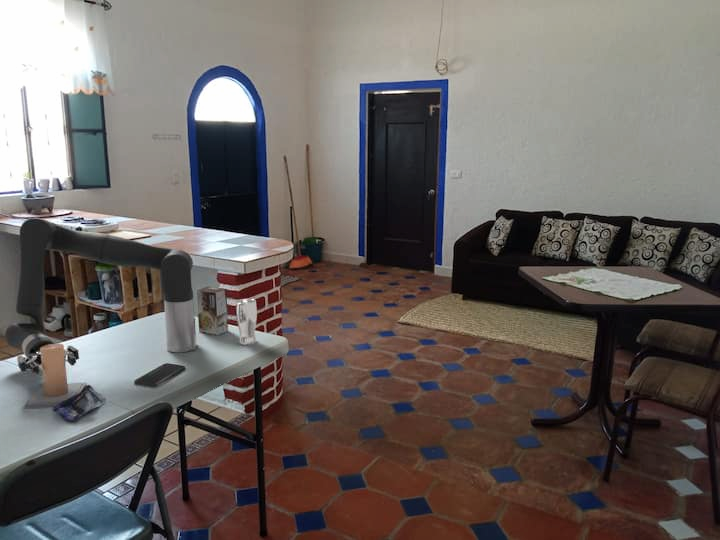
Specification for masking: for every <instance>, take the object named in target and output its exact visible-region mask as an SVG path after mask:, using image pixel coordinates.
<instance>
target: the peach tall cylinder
mask: <svg viewBox="0 0 720 540" xmlns="http://www.w3.org/2000/svg"><path fill="white" fill-rule="evenodd" d="M64 350H65V346H64V344H62V343H55V344H49V345H45V346H43V347H41V348H40V352H41V361H42V366H41V368H42V371H41V372H42V379H43V385H44V389H45V395H46V396H48V397H57V396H61V395H64V394H66V393H67V392H68V384H69V383H68V376H67V375H68V374H67V366H66V361H65V354H64Z"/></svg>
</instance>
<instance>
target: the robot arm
mask: <svg viewBox="0 0 720 540" xmlns="http://www.w3.org/2000/svg"><path fill="white" fill-rule="evenodd" d="M19 244H20V246H19V248H20V268H19V269H20V270H19V271H20V273H19V281H18V290H17V297H16V305H15V311H16V313H17V315H18V314H19V315H22V316H24V317H25V316H26V317H29V318H31V320H32V322H14V323H11V324H10V325H8V327H7V328H6V329H5V333H4V336H5V340H6V343H7V344H8V345H9V346H10V347H11V348H14V349H17V350H20V351H22V352H23V354H24V356H22V355H19V356H16V361H17V365H18V368H19V370H20V372H26V371H27V370H29V371H31V373H35V374H37V375H38V374H40V367H42V361H41V352H40V348H41V347H43V346H45V345H49V344H56V343H55V342H54V341H53V340H52V339H51V338H50V337H49V336H47V335H46V334H47V332H46V328H45V323H44V316H43V315H44V314H43V305H44V300H45V299H44V298H45V286H46V285H45V284H46V283H45V275H44V261H45V260H44V259H45V254H46V250H51V251H52V250H53V251H59V252H68V253H72V254H76V255H78V256H80V257H83V258H86V259H88V260H91V261H96V262H99V263H103V264H107V265H111V266H112V265H113V266H118V267H142V268H144V267H145V268H151V269H155V270H159V271H160V276H161V277H160V281H161V288H162V294H163V300H164V301H163V302H164V317H165V319H164V320H165V332H166V333H165V334H166V347H167V351H169V352H171V353H185V352H189V351H195V350H196V347H197V334H196V333H197V332H196V318H195V308H194V307H195V306H194V305H195V304H194V291H193V288H192V287H193V286H192V269H193V265H194V262H193V259H192V256H191V255H190V254H189V253H188V252H187V251H185V250H181V249H174V248H165V247H160V246H154V245H149V244H146V243H143V242H139V241H135V240H132V239H128V238H124V237H121V236H116V235H112V234H108V233H103V232H101V233H100V232H94V231H84V230H83V231H81V230H76V229H72V228H69V227H65V226H62V225H59V224H56V223H54V222H51V221H49V220H47V219H43V218H40V217H30V218H27V219H26V220H25V221H23V222H22V224H21V225H20V228H19ZM66 347H67V348H64V354H65V363H66V362H67V363H68V364H69V365H70V366H71V367H72V366H75V365H76V364H77V360H79V359H80V355H79V349H78V348H76V347H74V345H67V346H66Z"/></svg>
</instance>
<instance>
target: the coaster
mask: <svg viewBox="0 0 720 540" xmlns="http://www.w3.org/2000/svg"><path fill="white" fill-rule="evenodd" d="M67 384H68V392H67V393H66V394H64V395H61V396H57V397H48V396H46V395H45V389H44V384H43V385H39V386H38V388H37V389H36V390H35V392H33V393H32V395H30V398H29V399H28V400H27V401H26V402H25V404H24V409H35V408H36V409H38V408H47V407H49V408H50V407H55V406H56V405H58V404H59V403H61V402H62V401H65V400H67V399H68V398H70V397H72V396H74V395H77V394H78V393H80V392H81V391H82V389H83V388H84V387H85V386H87V385H88V384H87V382H75V383H74V382H73V383H67Z"/></svg>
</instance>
